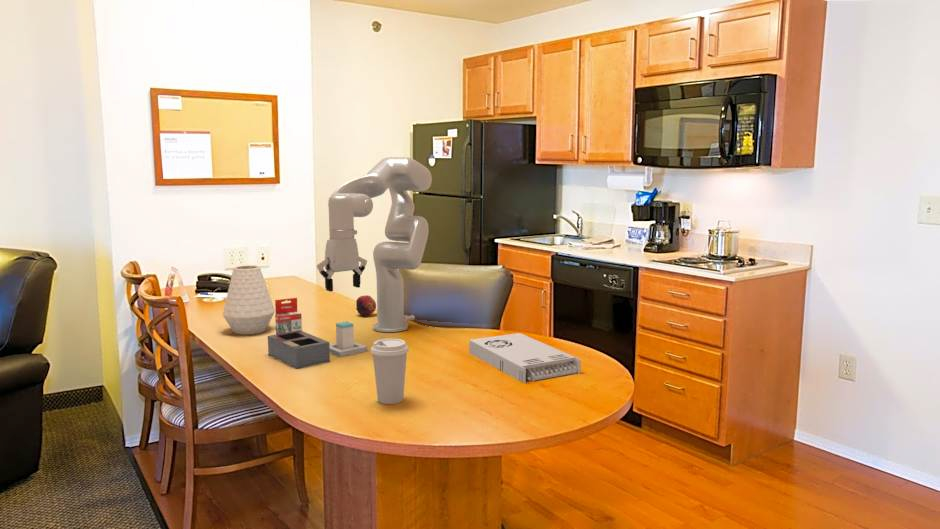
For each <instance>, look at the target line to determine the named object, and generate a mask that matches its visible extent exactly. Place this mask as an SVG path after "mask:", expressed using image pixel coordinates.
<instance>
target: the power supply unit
mask: <svg viewBox="0 0 940 529" xmlns="http://www.w3.org/2000/svg"><path fill="white" fill-rule="evenodd" d="M468 344H469V346H468V347H469V348H468V349H469V352H468V353H469V354H470V355H471V356H474V357H476V358H477V359H479V360H481V361H482V362H485V363H486V364H488V365H490V366H492V367H494V368H496V369H498V370H499V371H501V372H502V373H504V374H507V375H508V376H509V377H512V378H514V379H515V380H517V381H520V383H523V384H527V382H526V381H529V382H531V381H532V382H535V381H540V380H546V379H551V378H558V377H563V376H566V377H567V376H569V375H573V374H575V375H576V374H578V375H580V374H581V366H582V365H581V362H582V360H581V359H580V358H578V357H576V356H574V355H572V354H569V353H567V352H565V351H563V350H560V349H558V348H556V347H553V346H552V345H549V344H546V343H544V342H542V341H539V340H537V339H534V338H533V337H530V336H527V335H526V334H523V333H520V332H516V333H510V334H503V335H501V334H500V335H496V336H495V335H494V336H489V337H481V338H473V339H470V340H469V343H468Z"/></svg>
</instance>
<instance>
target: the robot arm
mask: <svg viewBox="0 0 940 529" xmlns="http://www.w3.org/2000/svg"><path fill="white" fill-rule="evenodd" d="M432 181H433V177H432V173H431V171H430V170H429V169H428V168H427V167H426V166H425V165H423V164H422V163H420V162H419V161H417V160H415V159H414V158H411V157H405V156H404V157H402V156H401V157H399V156H398V157H397V156H396V157H394V156H393V157H392V156H391V157H385V158H382V159H381V160H379V161H378V163H377V164H376V165H374V166H373V167H372V168H371V170H369V171H368V172H367V173H366V174H365V175H362V176H359V177H357V178H354V179H352V180H350V181H347V182H345V183H343V184H342V185H340V186H339V187H338V188H337V189H336V190H334V192H333V193H332V194H331V195H330V196H329V197H328V201H327V202H328V204H327V207H328V226H329V228H328V229H329V232H328V234H329V239H327V240H326V244H325V248H324V249H325V250H324V260H323V261H321V262H320V263H318V264H317V265H316V268H317V270H318V272H319V274H320V275H321V276H322V277H323V278H324V283H325V284H324V285H325V286H324V287H325V290H326V291H327V292H333V291H334V283H333V282H334V281H333V278H332V277H333V275H334V274H335V273H339V272H342V273H343V272H350V271H352V272H353V274H352V286H353V287H354V288H361V276H362V274H363V272H364V271H365V269H366V266H367V263H368V260H367V259H365V258H363V257H361V256H359V250H358V249H359V247H358V243H357V242H358V241H357V239H356V238H355V235H357V234H358V230H356V229H355V225H354V221H355V220H354V218H365V217H368V216H369V215H370V214H371V213H372V212H373V208H374V203H373V200H372V199H373V198H377V197H379V196H382V195H384V194H385V193H386V191H387V190H388V191H389V194H390V197H391V206H390V209H389V214H388V217H387V220H386V223H385V226H384V227H385V228H384V236H385V237H386V238H387V239H388V240H390V241H382V242H379V243H377V244H376V245H375V247H374V248H373V252H372V255H373V263H374V267H375V274H376V278H375V279H376V310H377V311H376V317H377V322H376V323H375V324H373V326H372V328H373V330H374V331H376V332H378V333H379V332H381V333H399V332H404V331H406V330H408V329H409V324H408V322H409V321H411V322H412V321H415V319H416V316H415V314H410V315H407V314H405V313H404V312H405V310H404V307H405V306H404V304H405V303H404V302H405V301H404V279H403V278H404V277H403V276H402V274H401V272H400V270H406V271H407V270H408V271H411V270H412V271H413V270H417V269H418V268H419V267H420V266H421V263H422V259H423V257H424V253H425V249H426V245H427V243H428V242H427V241H428V239H429V238H428V236H429V232H430V231H429V223H428V220H427V219H426V218H425V217H423V216H419V215H414V212H415V207H416V206H415V203H414V201H413V199H412V198H411V196H410V194H409V193H408V192H409V191H411V192H425V191H427V190H429V188H430V187H431V185H432Z"/></svg>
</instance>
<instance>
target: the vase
mask: <svg viewBox="0 0 940 529" xmlns="http://www.w3.org/2000/svg"><path fill="white" fill-rule="evenodd" d="M262 272H263V271H262V269H261V266H259V265H253V264H251V265H246V264H245V265H239V266H234V267H233V270H232V273H231V277H230V281H229V282H230V283H229V285H228V286H229V287H228V289H227V295H226V299H225V304H224V307H223V310H222V317H223V318H224V320H225V321H226V323H227V324H228V325H229V327H230V329H231V330H232V332H233V333H234V334H236V335H240V336H249V335H250V336H251V335H257V334H261V333H264V332H266V331H267V328H268V327H269V325H270V323H271V320H272V319H273V317H274V316H275V313H276V310H275V308H274V304H273V302H272V299H271V296H270V292H269V290H268V287H267V285H266V281H265V278H264V276H263V275H264V274H263V273H262Z"/></svg>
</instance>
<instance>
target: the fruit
mask: <svg viewBox="0 0 940 529" xmlns="http://www.w3.org/2000/svg"><path fill="white" fill-rule="evenodd" d="M355 302H356V303H355V304H356V306H355V307H356V308H355V310H356V311H357V313H358V314H359V316H360V315H361V316H362V317H368V316H370V315H372V314H373V313H374V312H375V311H376V310H377V301H376V300H375V299H374V298H373V297H372V296H371V295H368V294H367V295H360V296H358V297H357V298H356V301H355Z"/></svg>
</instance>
